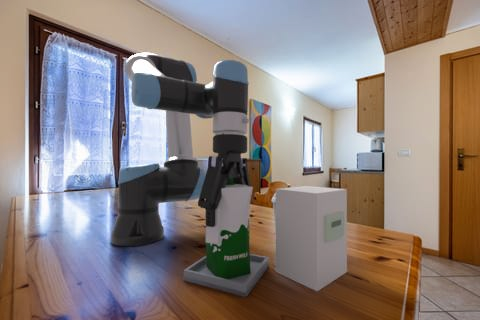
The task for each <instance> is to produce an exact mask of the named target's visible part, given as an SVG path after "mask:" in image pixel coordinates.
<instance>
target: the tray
mask: <svg viewBox="0 0 480 320" xmlns="http://www.w3.org/2000/svg"><path fill="white" fill-rule="evenodd" d="M269 267H270V257H268V256H264V255H258V254H254V253H250V271H251V273H250V274H246V275H242V276H239V277H235V278H231V279H224V278H220V277H216V276H215V275H214V274H213V273H212V272H211V271H210V270H209V269H208V268H207V259H206V255H205V256H202V258H200V259H199V260H197V261H196V262H194V263H193V264H191V265H189V266H188V267H187V268H185V269H183V279H182V280H183V281H184V282H188V283H191V284H196V285H199V286H203V287H207V288H211V289H215V290H218V291H222V292H224V293H225V292H226V293H229V294H233V295H236V296H240V297H243V298H247V296H248V295H249V294H250V293H251V291H252V290H253V288H254V287H256V284H257V283H258V282H259V280H260V279H261V278H262V276H263V275H264V273H265V272H266V270H267V269H268V268H269Z"/></svg>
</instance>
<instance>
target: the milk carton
mask: <svg viewBox="0 0 480 320" xmlns="http://www.w3.org/2000/svg"><path fill="white" fill-rule="evenodd" d="M253 189H254V187H253V186H251V187H250V186H247V185H240V184H233V178H231V179H230V180H229V181H228V182H227V184H226V187H225V188H222V189H221V193H222V197H221V200H220V202H219V205H218V208H219V209H220V244H218V245H217V244H212V243H206V242H205V245H206V246H205V248H206V249H205V250H206V252H205V254H206V255H205V256H206V259H207V268H208V269H209V270H210V271H211V272H212V273H213V274H214V275H215V276H216V277H220V278H224V279H231V278H235V277H239V276H242V275H246V274H250V273H251V271H250V254H251V252H250V251H251V250H250V224H251V223H250V212H251V211H250V208H251V206H250V204H251V200H252V198H251V195H252V196H253Z"/></svg>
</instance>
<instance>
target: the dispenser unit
mask: <svg viewBox="0 0 480 320" xmlns="http://www.w3.org/2000/svg"><path fill="white" fill-rule="evenodd" d="M275 193H276V233H275V273H277V274H280V275H281V276H284V277H286V278H287V279H290V280H291V281H294V282H296V283H298V284H301V285H303V286H304V287H307V288H309V289H311V290H313V291H315V292H319V291H320V290H322V289H324V288H325V287H326V286H328V285H330V284H331V283H333V282H334V281H335V280H337V279H339V278H340V277H341V276H343V275H345V274H346V273H348V214H347V213H348V212H347V211H348V207H347V206H348V203H347V202H348V201H347V200H348V197H347V196H348V189H346V188H334V187H324V186H311V185H303V186H291V187H281V188H280V187H279V188H275Z"/></svg>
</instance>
